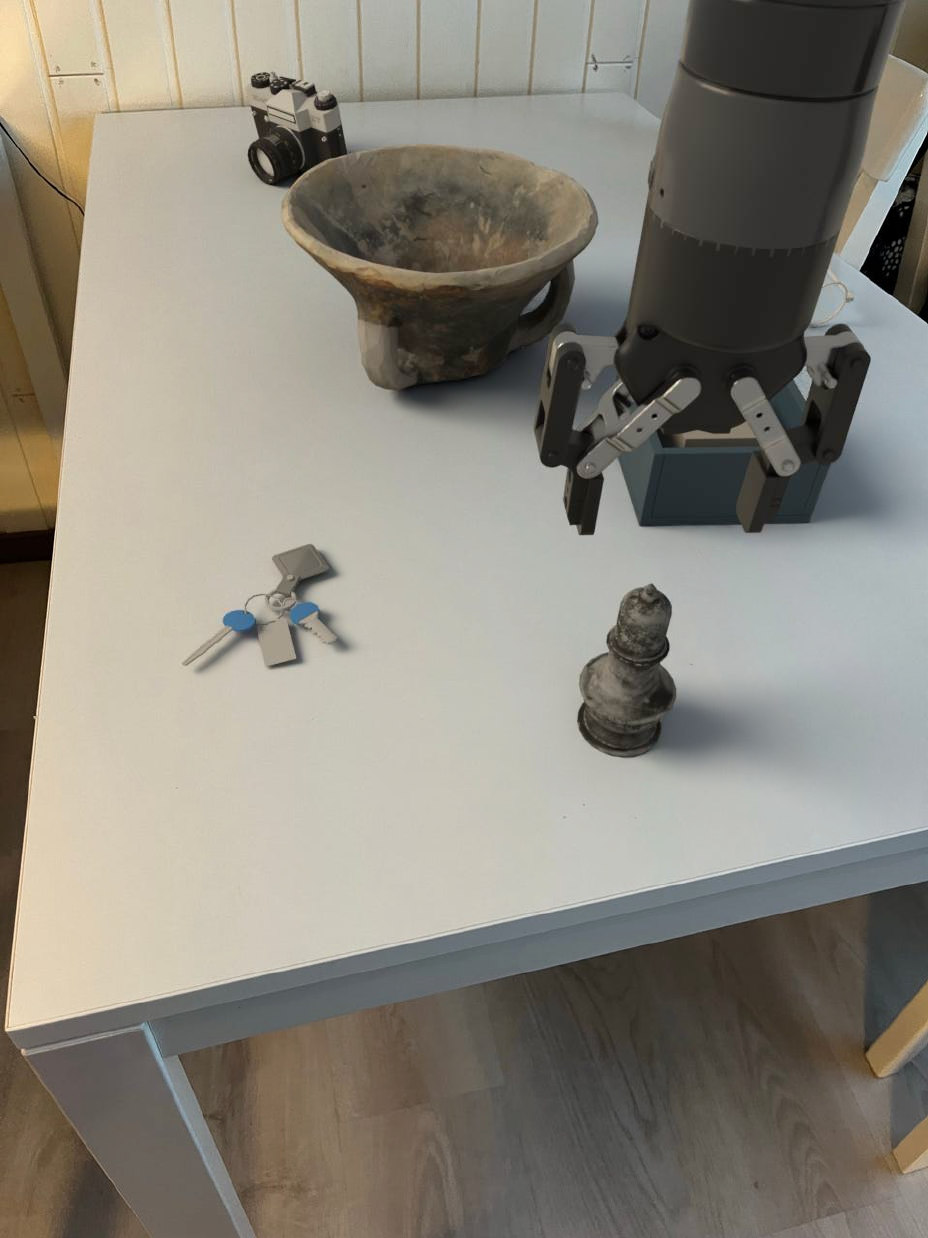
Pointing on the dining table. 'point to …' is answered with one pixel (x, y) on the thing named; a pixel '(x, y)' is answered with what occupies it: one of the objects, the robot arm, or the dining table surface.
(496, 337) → the bowl
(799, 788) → the dining table surface
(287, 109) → the camera
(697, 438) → the block
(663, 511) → the crate
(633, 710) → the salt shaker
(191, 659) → the key chain
